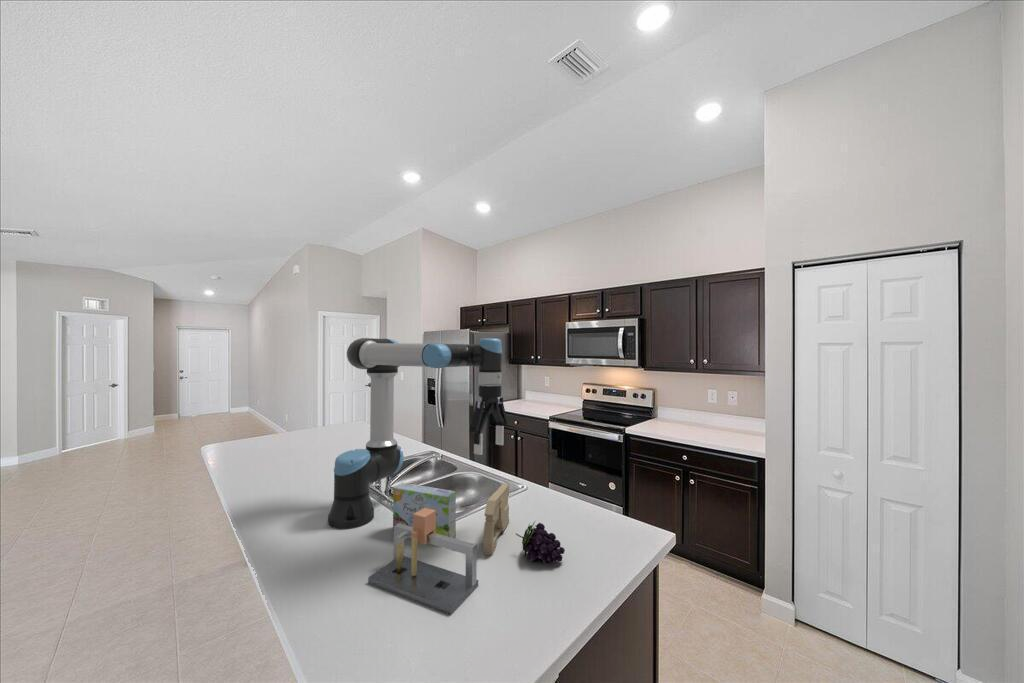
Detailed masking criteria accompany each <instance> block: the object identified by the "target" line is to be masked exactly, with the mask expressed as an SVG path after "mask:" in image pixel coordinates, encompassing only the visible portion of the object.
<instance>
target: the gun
mask: <svg viewBox="0 0 1024 683" xmlns="http://www.w3.org/2000/svg"><path fill="white" fill-rule="evenodd" d="M509 497H510V483H509V484H508V483H501V485H500V486H499V487H498V488H497V489H496V491H494V492H493V493H492V494H491V495H490V497H489V498H487V502H486V506H485V510H484V517H485V519H484V520H485V521H484V529H483V530H484V531H483V539H482V545H483V546H482V547H483V555H484V556H485V555H486V556H493V555H494V552H495V549H496V547H497V542H498V541H497V539H498V537H499V535H500V534H501V533H503V532H504V531H505V529H506V527H507V526H508V524H509V522H510V516H509V514H510V512H509V511H510V505H509Z"/></svg>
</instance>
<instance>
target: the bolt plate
mask: <svg viewBox="0 0 1024 683" xmlns="http://www.w3.org/2000/svg"><path fill="white" fill-rule="evenodd" d="M411 559H412V557H407V556H405V555H404V559H402V574H400V575H398V574H397V561H394V560H392V561H390V562H388V563H387V564H386V565H384V566H383V567H381V568H379V570H376V572H374V573H372V574H371V575H369V576H368V577H367V578H368V579H367V583H368V584H369V585H371V586H374V587H377V588H380V589H382V590H384V591H387V592H389V593H392V594H395V595H397V596H400V597H403V598H404V599H405V598H406V599H408V600H410V601H413V602H415V603H418V604H421V605H424V606H426V607H429V608H431V609H433V610H437V611H439V612H442V613H443V614H447V615H449V616H452V615H453V613H455V611H457V610H458V608H459V607H460V606H461V605H462V604H463V603H464V602H465V601H466V600H467V599H468V597H470V596H471V594H473V592H474V591H475V590H476V589H477V588H478V587H479V579H477V578H476V583H475V584H474V585H473V586H469V585H466V584H465V579H466V575H464V574H460V573H458V572H455V571H451V570H448V569H447V568H446V569H445V568H442V567H439V566H436V565H433V564H429V563H426V562H425V561H421V560H418V559H417V574H416V575H415V576H413V575H411ZM440 587H441V588H444V589H440Z"/></svg>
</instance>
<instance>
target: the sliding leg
mask: <svg viewBox="0 0 1024 683" xmlns="http://www.w3.org/2000/svg"><path fill="white" fill-rule="evenodd" d="M435 529H436V510H433V509H428V508H423V509H421V510H420V511H418V512H416V513H414V514H413V532H411V537H412V538H411V558H412V559H411V575H413V576H415V575H416V574H417V560H418V544H421V545H424V546H425V545H426V544H428V543H427V534H429V533H430V532H433V533H435Z"/></svg>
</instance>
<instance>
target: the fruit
mask: <svg viewBox="0 0 1024 683" xmlns="http://www.w3.org/2000/svg"><path fill="white" fill-rule="evenodd" d="M535 523H536V521H533V522H532V524H531V523H529V524H528V526H527V528H526V529H525V531H524V534H523V536H521V535H520V534H519V533H515V535H516V536H517V537H519V538H522V540H521V541H522V542H521V544H522V545H521V548H522V551H523V556H524V558H528V560H529V561H531V562H533V561H536V560H537V558H538V559H540V560H541V561H542V562H543V563H544V564H546V563H547V562H548V564H551V565H553V564H554V563H556V562H557V563H560V562H562V560H563V554H565V552H566V549H565V548H564V547H562V546H561V542H560V540H558V539H557V536H556V534H554V533H553V532H550V533H548V531H547V530H546V529H545V528H546V526H545V525H544V523H541V522H539V523H537V524H536V525H535ZM530 524H531V525H530ZM521 548H520V549H521Z"/></svg>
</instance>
